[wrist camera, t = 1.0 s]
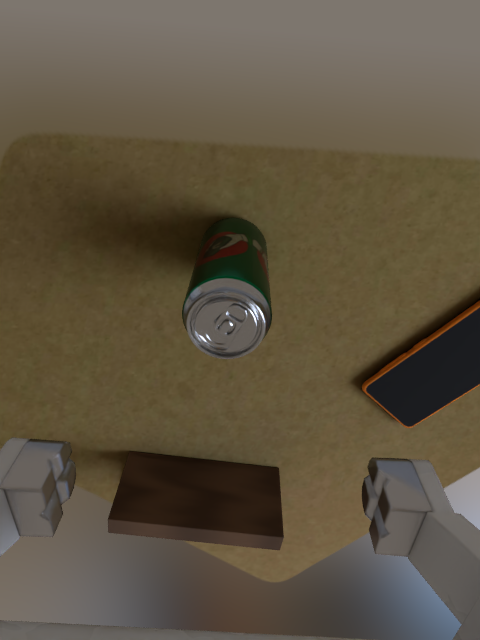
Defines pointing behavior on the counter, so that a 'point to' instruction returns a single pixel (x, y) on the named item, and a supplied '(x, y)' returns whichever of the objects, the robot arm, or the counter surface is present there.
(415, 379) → the smartphone
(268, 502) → the brown rectangular block
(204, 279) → the soda can
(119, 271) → the counter surface
